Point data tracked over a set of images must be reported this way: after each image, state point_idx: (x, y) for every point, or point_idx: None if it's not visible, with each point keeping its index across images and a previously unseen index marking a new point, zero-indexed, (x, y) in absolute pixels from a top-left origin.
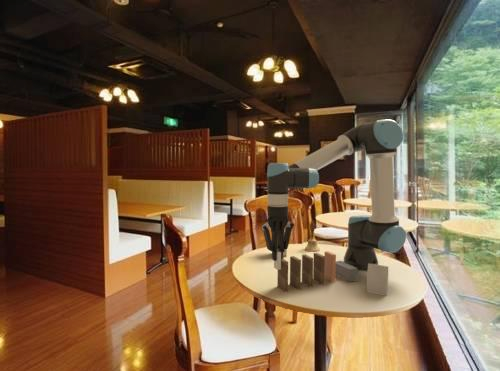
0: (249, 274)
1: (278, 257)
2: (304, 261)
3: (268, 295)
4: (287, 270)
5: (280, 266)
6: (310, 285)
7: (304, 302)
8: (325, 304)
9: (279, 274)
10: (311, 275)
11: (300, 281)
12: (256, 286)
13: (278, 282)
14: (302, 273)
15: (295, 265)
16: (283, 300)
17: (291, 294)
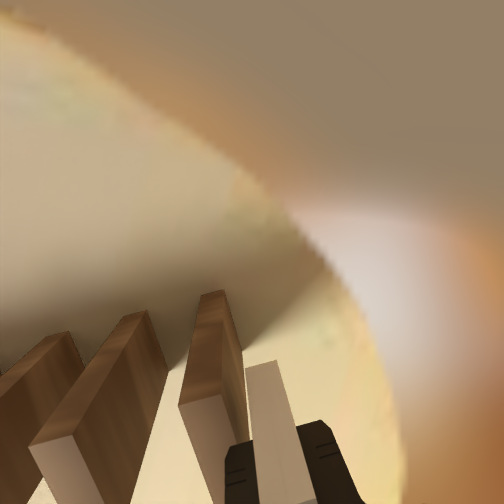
0: None
1: (287, 443)
2: (2, 490)
3: (314, 259)
4: (194, 355)
5: (251, 383)
6: (56, 336)
7: (147, 152)
8: (32, 108)
9: (239, 379)
10: (14, 372)
11: (110, 335)
12: (346, 363)
13: (240, 357)
14: None
15: (106, 415)
16: (254, 193)
17: (192, 254)
